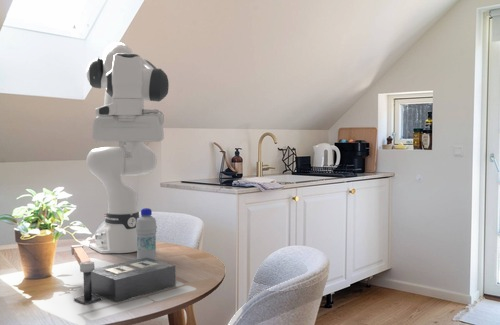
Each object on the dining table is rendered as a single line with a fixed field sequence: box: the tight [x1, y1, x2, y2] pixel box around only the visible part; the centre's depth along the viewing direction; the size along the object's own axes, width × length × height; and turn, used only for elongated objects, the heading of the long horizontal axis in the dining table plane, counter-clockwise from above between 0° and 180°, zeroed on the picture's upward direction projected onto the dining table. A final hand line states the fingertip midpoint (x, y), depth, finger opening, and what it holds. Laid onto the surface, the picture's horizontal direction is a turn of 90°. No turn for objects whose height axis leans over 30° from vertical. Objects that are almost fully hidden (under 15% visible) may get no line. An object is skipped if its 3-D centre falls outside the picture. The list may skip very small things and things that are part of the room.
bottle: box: [136, 207, 158, 260], centre depth 167 cm, size 7×7×20 cm
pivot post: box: [73, 272, 102, 306], centre depth 136 cm, size 5×5×8 cm
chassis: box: [91, 258, 177, 303], centre depth 147 cm, size 14×20×6 cm
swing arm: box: [70, 244, 95, 273], centre depth 146 cm, size 25×4×2 cm, turn 25°
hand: (128, 157), depth 149 cm, fingers closed
